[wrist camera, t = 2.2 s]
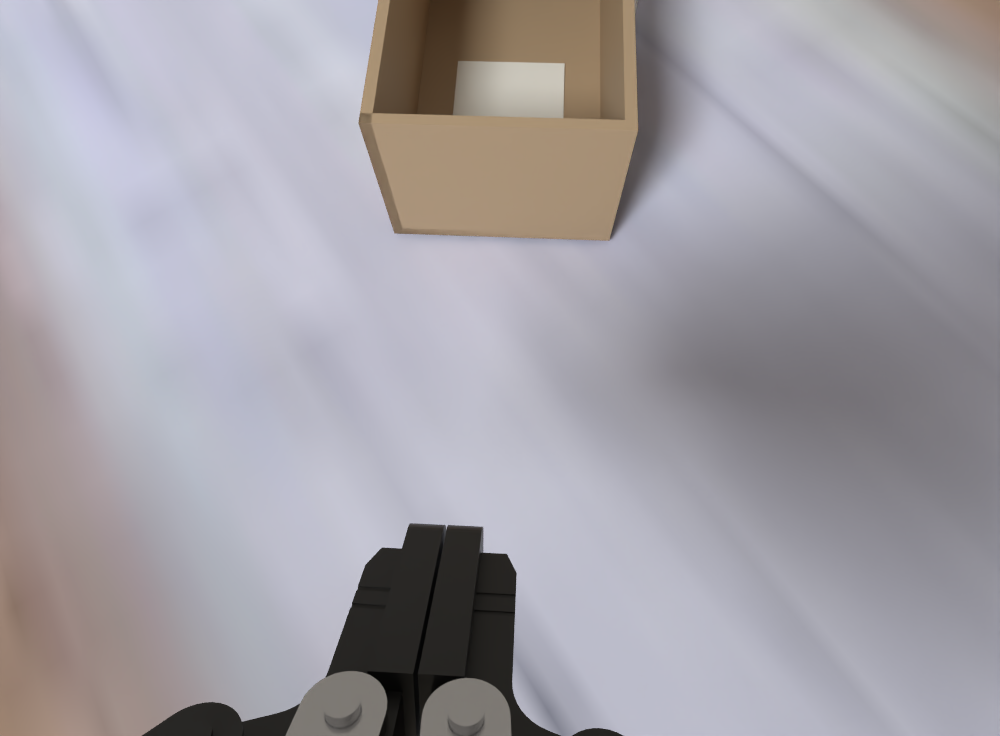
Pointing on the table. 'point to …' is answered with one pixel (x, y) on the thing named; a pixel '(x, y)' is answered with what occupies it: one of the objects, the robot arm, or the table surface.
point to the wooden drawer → (502, 115)
